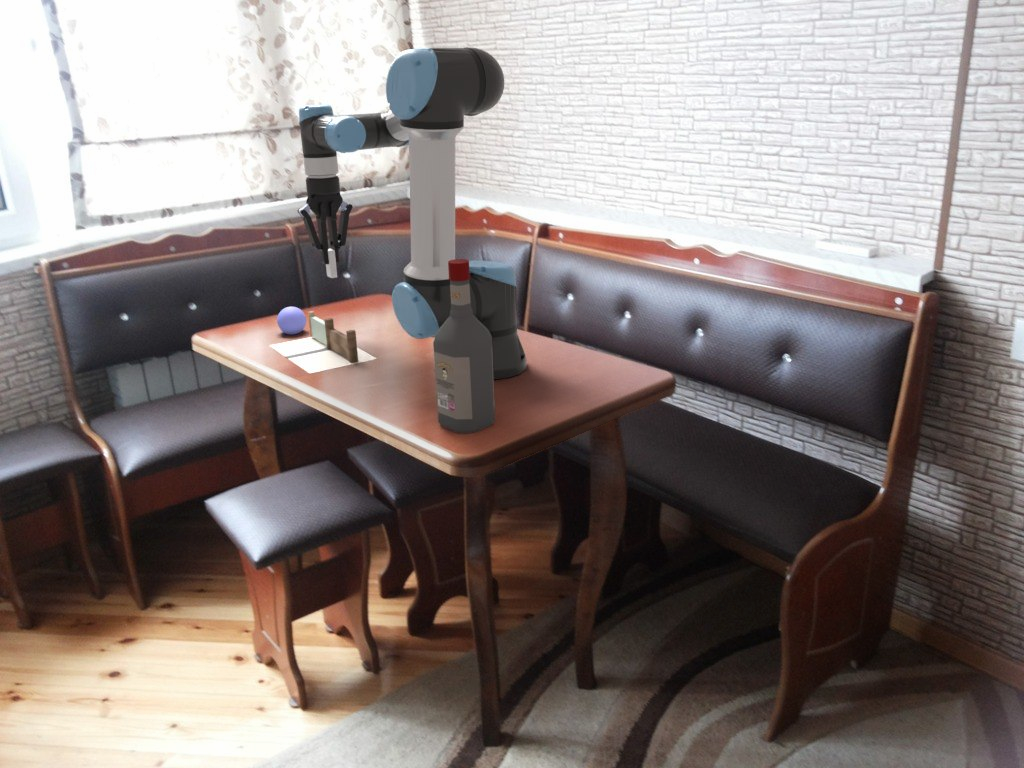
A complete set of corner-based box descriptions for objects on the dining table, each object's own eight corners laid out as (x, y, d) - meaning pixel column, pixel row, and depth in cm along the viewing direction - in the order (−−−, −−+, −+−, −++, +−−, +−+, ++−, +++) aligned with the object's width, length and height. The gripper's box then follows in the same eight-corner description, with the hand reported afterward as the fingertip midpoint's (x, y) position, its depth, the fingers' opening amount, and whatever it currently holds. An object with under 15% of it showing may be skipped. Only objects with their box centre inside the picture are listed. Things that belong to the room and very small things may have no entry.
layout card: (377, 360, 195) (377, 358, 195) (309, 375, 187) (309, 373, 187) (331, 334, 216) (331, 332, 216) (268, 346, 208) (268, 344, 207)
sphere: (311, 330, 220) (308, 303, 218) (302, 338, 214) (299, 310, 211) (284, 330, 221) (281, 303, 218) (274, 338, 214) (271, 310, 212)
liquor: (465, 437, 153) (456, 269, 143) (431, 424, 159) (420, 262, 149) (502, 422, 159) (496, 260, 149) (468, 410, 165) (460, 253, 155)
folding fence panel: (332, 344, 205) (330, 319, 203) (326, 345, 204) (323, 321, 202) (315, 334, 213) (313, 310, 211) (309, 335, 212) (306, 311, 210)
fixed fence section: (359, 361, 194) (356, 331, 191) (351, 363, 192) (348, 333, 190) (334, 346, 205) (331, 317, 203) (326, 348, 204) (322, 319, 201)
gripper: (341, 171, 205) (351, 270, 213) (288, 176, 198) (300, 278, 207) (355, 174, 199) (364, 275, 208) (300, 179, 193) (312, 284, 201)
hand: (332, 276), depth 207 cm, fingers closed
